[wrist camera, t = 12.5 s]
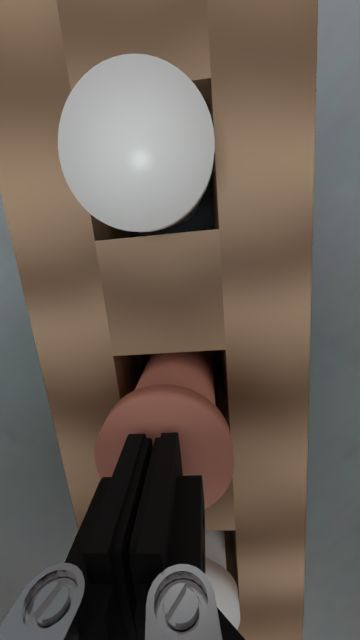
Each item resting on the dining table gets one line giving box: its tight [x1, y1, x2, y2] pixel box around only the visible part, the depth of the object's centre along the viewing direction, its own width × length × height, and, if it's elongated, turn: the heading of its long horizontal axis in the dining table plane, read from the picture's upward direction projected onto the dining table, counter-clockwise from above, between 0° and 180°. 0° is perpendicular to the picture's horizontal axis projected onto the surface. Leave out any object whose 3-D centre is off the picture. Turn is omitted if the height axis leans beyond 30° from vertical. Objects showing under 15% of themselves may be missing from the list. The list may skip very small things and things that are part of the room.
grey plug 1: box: [58, 53, 215, 232], centre depth 14 cm, size 5×5×10 cm
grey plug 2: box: [205, 530, 240, 629], centre depth 19 cm, size 5×5×10 cm
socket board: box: [0, 0, 318, 640], centre depth 18 cm, size 32×12×8 cm, turn 5°
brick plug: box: [94, 351, 234, 509], centre depth 15 cm, size 5×5×10 cm
